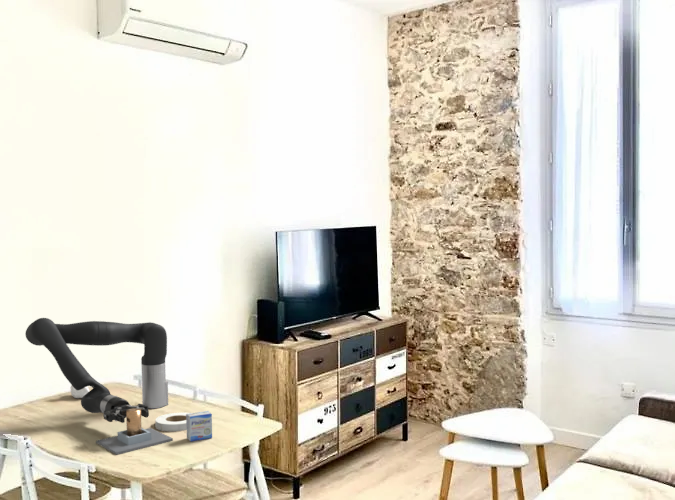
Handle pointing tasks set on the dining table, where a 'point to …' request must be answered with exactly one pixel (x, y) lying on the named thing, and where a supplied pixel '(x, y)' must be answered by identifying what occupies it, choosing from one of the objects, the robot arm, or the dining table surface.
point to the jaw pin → (133, 422)
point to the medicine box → (199, 426)
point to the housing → (133, 441)
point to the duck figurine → (79, 392)
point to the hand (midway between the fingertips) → (135, 417)
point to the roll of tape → (171, 422)
